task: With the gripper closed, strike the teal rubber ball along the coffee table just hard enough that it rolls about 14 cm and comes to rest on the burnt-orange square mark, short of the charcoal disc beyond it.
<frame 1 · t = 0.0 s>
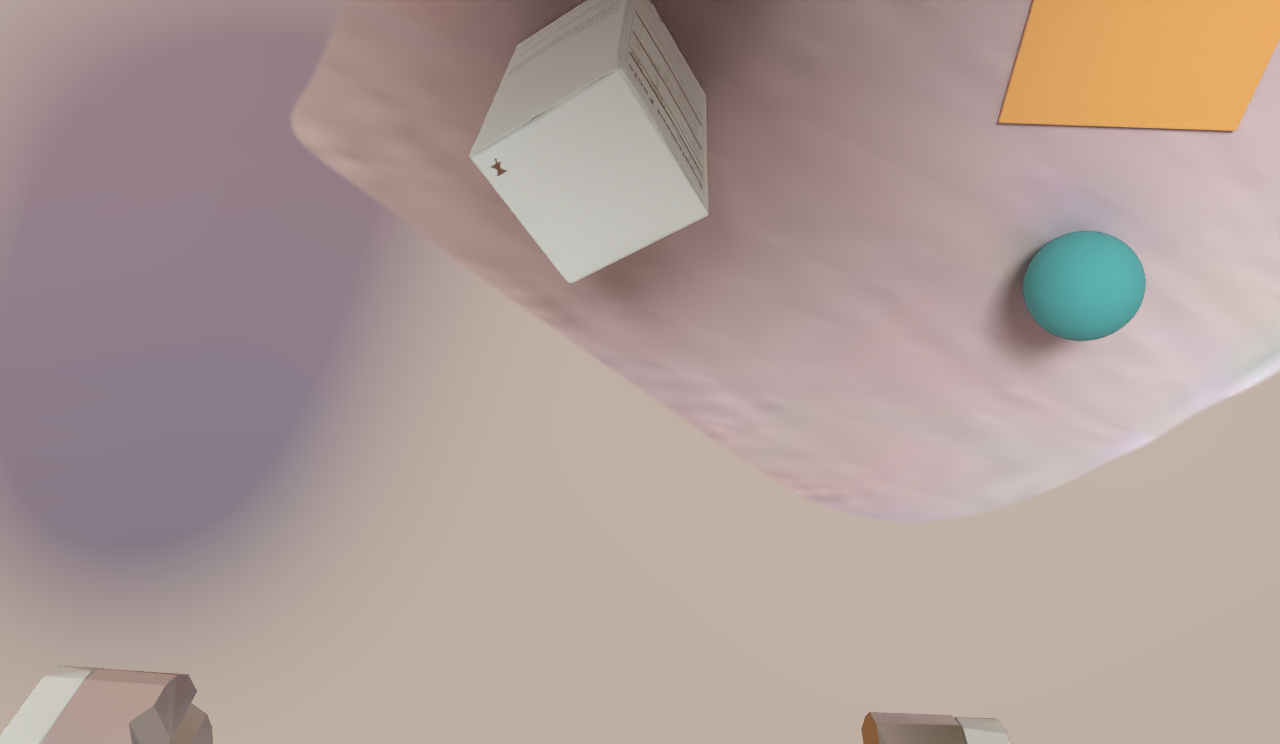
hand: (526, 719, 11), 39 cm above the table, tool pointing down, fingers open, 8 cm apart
ball: (1082, 286, 48), on the table
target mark: (1161, 4, 41), on the table
supplement box: (613, 68, 45), on the table
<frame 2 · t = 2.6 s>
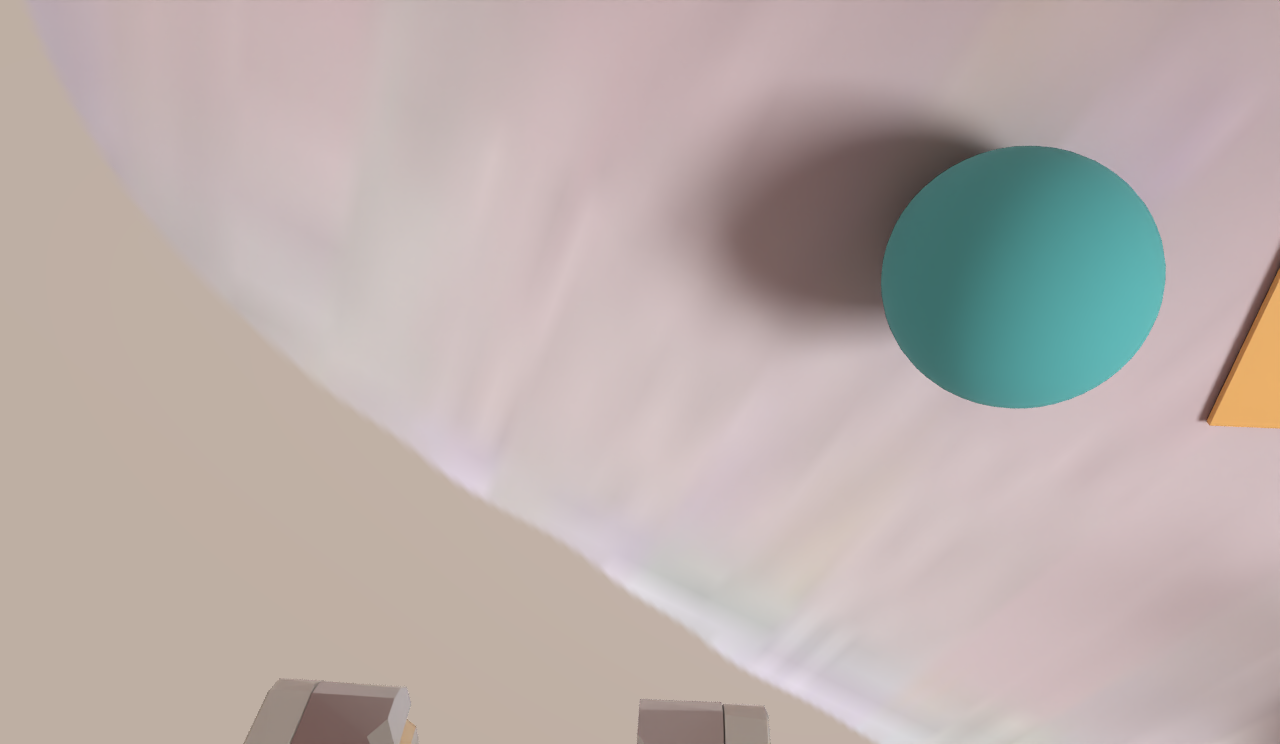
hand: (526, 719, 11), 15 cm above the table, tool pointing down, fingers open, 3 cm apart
ball: (1014, 279, 20), on the table
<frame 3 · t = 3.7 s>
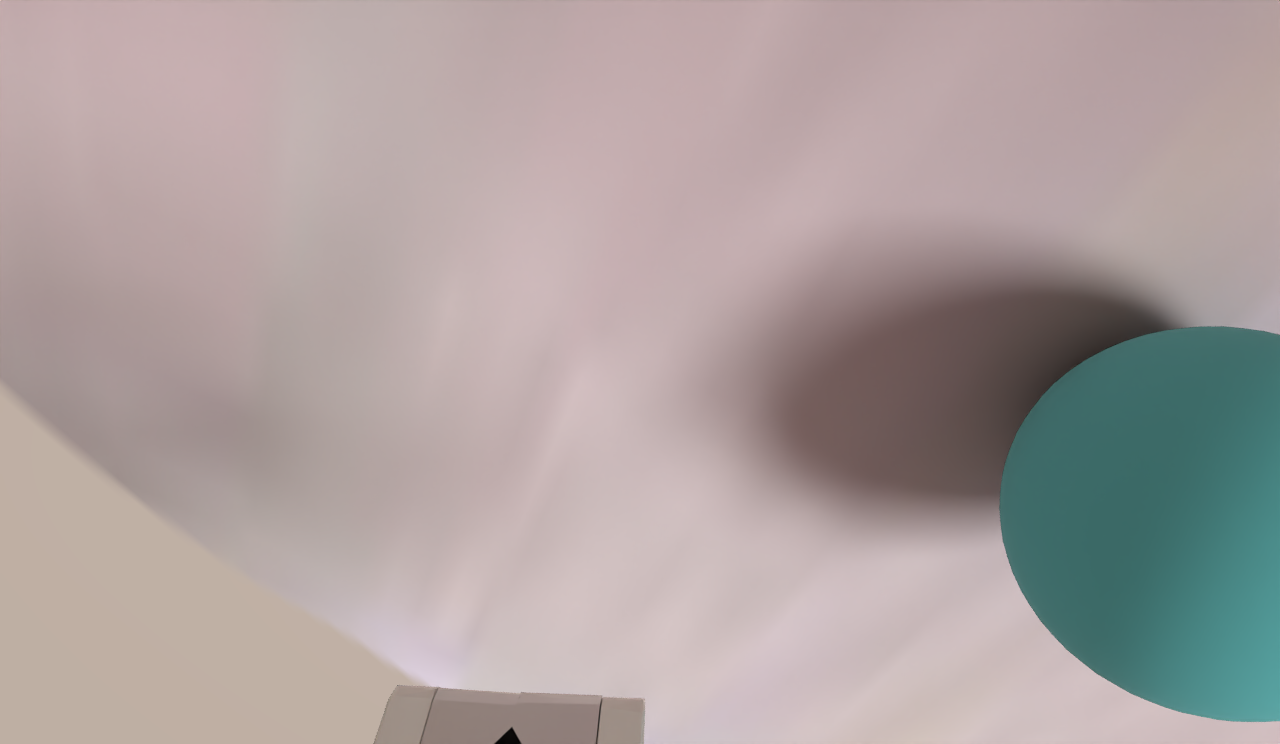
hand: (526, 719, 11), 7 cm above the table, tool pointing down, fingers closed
ball: (1205, 516, 14), on the table
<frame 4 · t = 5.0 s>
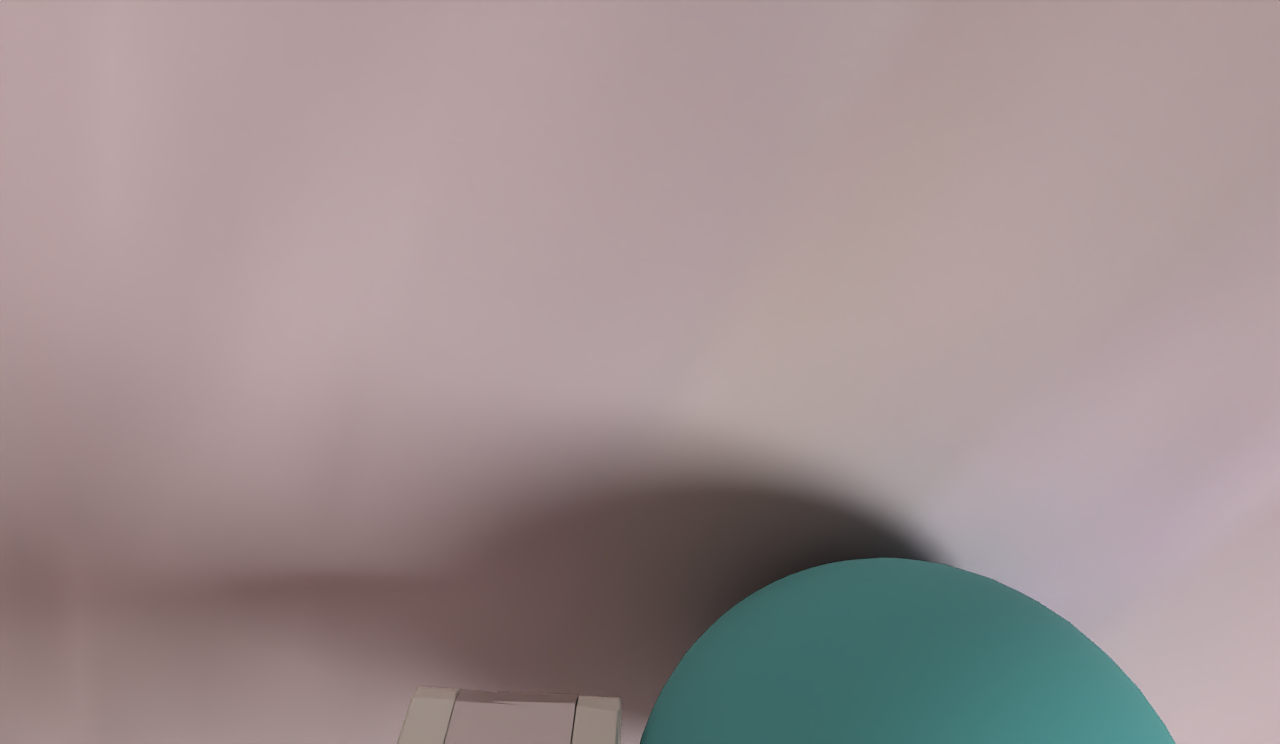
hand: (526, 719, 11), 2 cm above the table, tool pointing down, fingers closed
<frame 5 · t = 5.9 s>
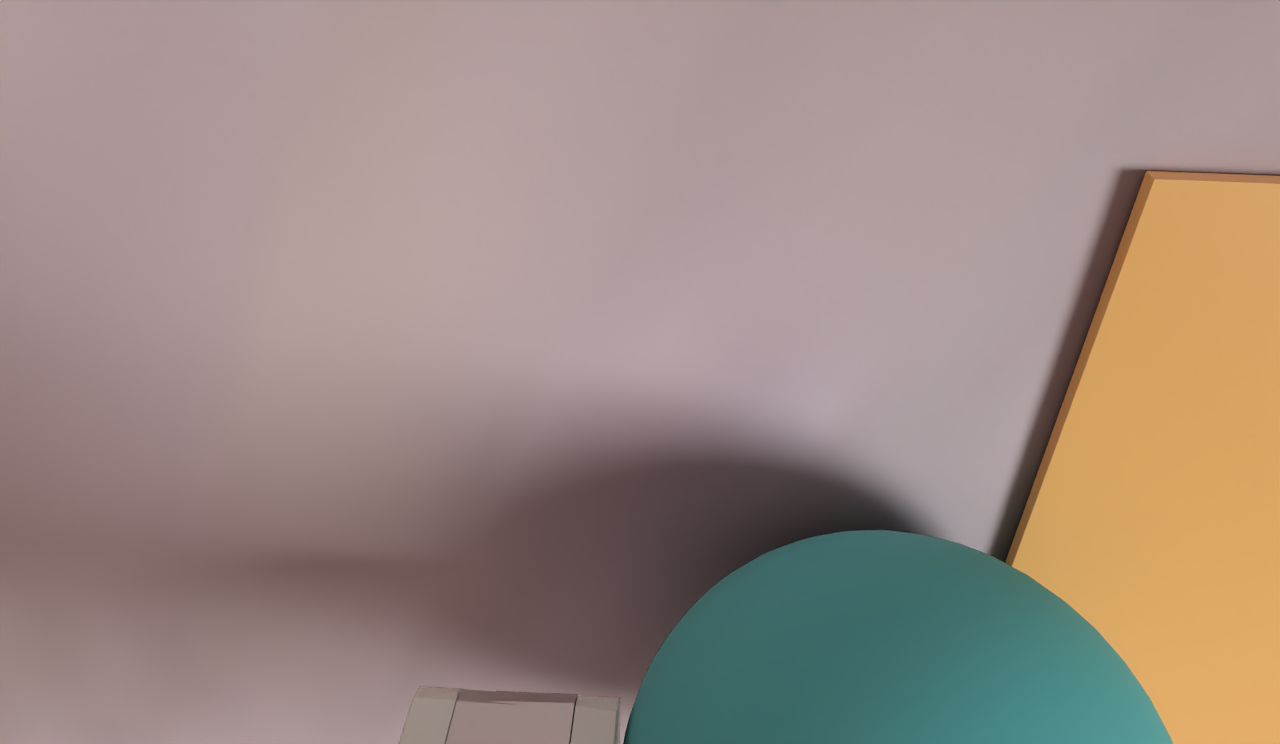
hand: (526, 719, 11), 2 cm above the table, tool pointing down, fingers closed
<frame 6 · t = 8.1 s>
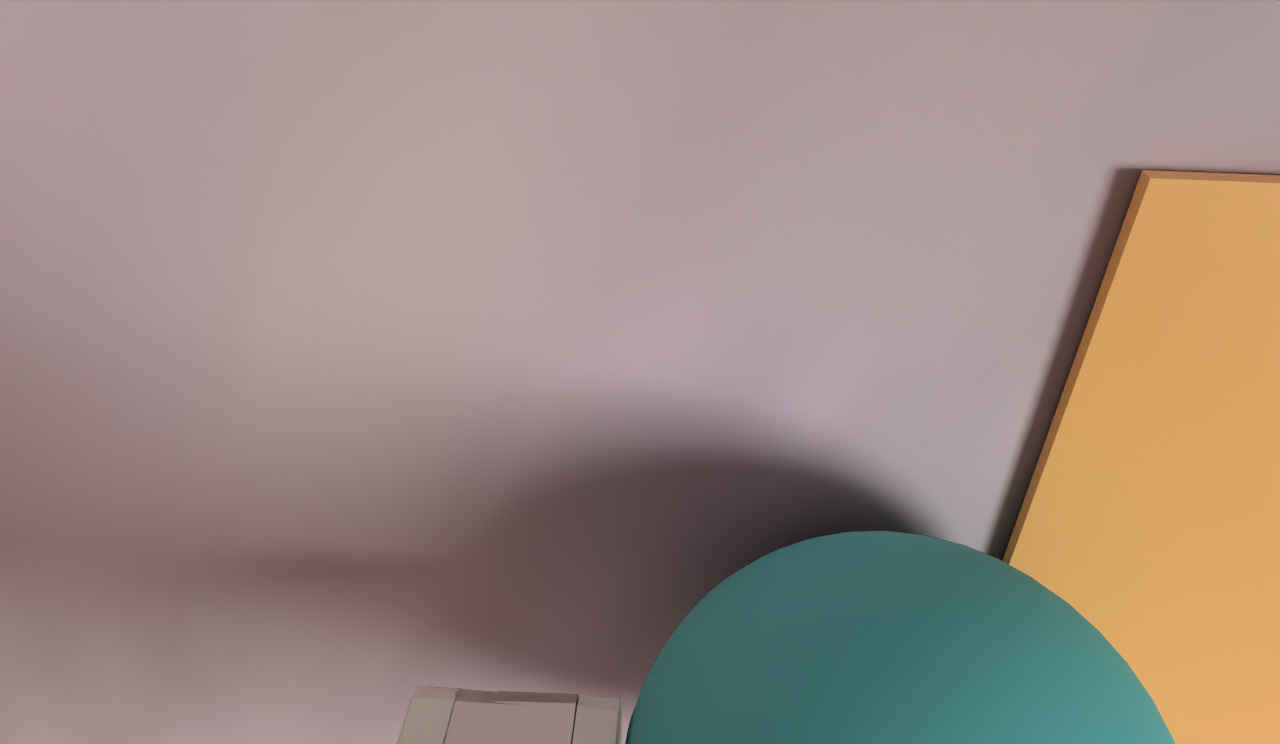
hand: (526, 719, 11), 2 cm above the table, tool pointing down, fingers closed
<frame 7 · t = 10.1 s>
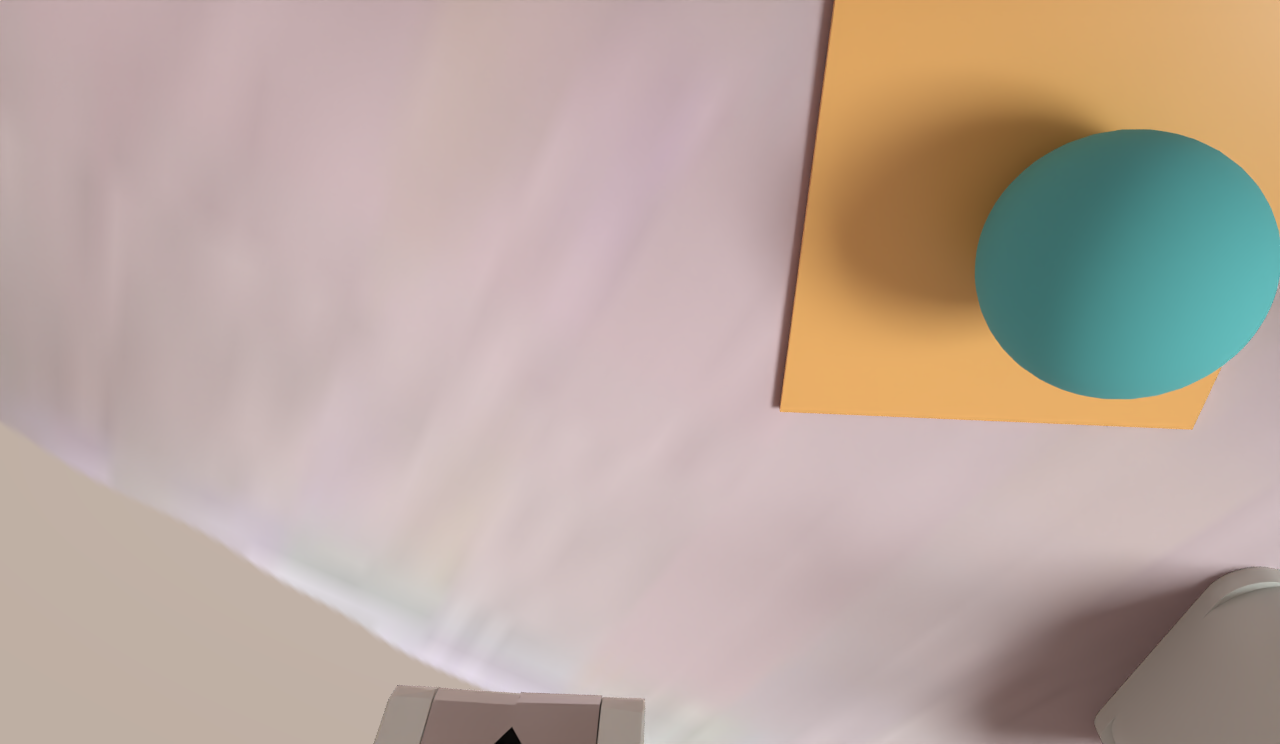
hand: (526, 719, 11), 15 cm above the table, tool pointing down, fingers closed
ball: (1116, 266, 20), on the table
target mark: (1038, 230, 23), on the table
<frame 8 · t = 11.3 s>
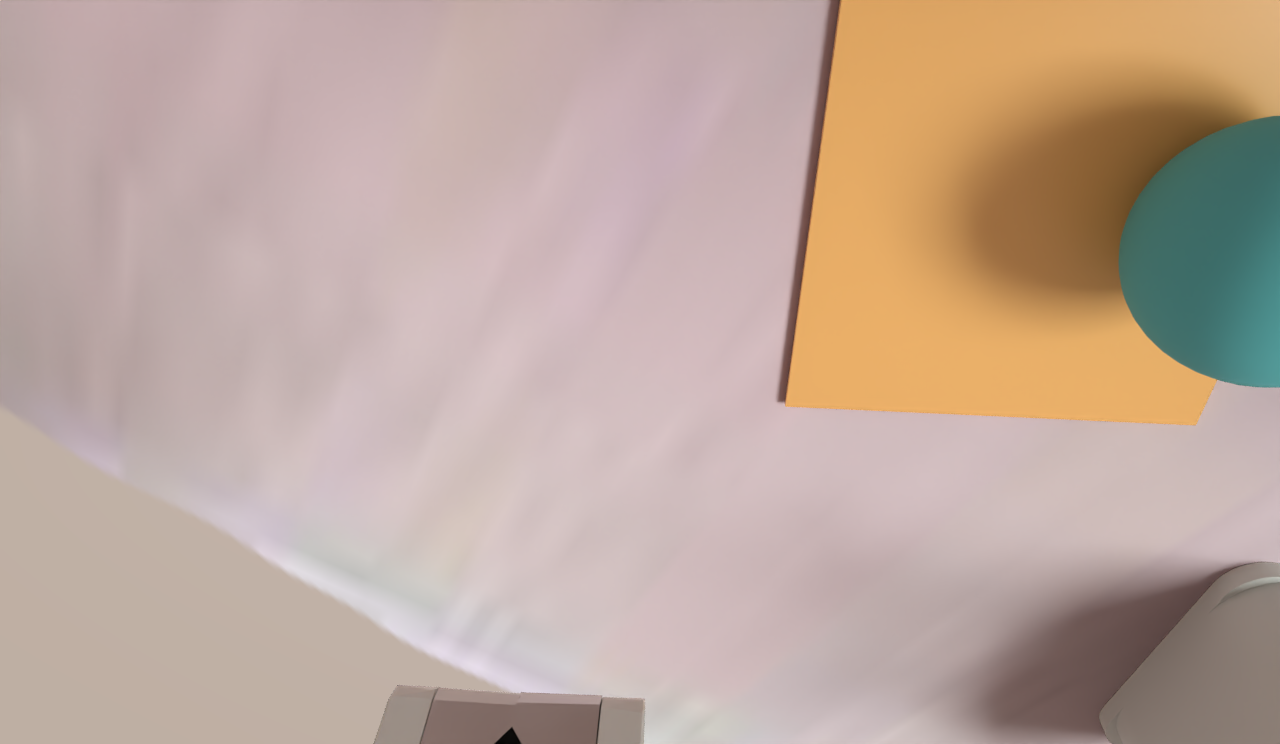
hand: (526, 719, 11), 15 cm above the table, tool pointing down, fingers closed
ball: (1270, 253, 20), on the table
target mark: (1042, 226, 23), on the table
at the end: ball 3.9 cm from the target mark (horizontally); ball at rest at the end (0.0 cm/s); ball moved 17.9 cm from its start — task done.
